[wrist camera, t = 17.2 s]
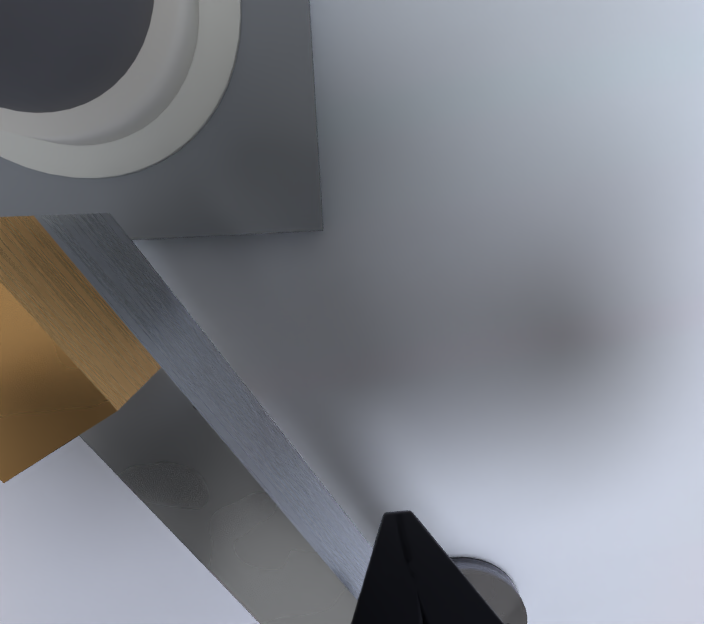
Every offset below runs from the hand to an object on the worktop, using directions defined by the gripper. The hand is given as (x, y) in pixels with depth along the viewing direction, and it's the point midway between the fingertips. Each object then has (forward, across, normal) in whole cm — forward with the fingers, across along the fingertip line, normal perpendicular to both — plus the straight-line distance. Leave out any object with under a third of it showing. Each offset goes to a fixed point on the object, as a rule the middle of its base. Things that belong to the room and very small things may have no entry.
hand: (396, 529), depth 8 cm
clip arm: (+1, +1, +2) cm, 2 cm away
